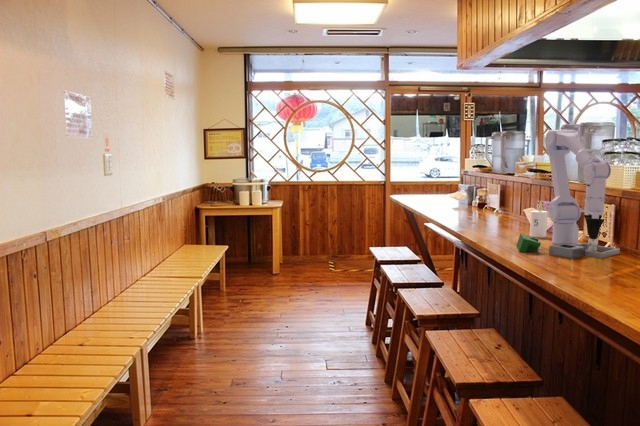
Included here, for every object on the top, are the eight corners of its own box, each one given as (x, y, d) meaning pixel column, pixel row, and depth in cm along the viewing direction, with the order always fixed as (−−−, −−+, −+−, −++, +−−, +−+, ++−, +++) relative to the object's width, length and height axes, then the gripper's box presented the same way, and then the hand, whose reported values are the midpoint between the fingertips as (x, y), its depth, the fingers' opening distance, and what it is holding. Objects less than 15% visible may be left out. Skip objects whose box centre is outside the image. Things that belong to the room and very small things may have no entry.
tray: (582, 249, 180) (582, 243, 179) (619, 256, 169) (619, 249, 169) (563, 254, 172) (563, 247, 172) (600, 260, 162) (601, 253, 162)
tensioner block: (561, 254, 172) (562, 243, 172) (584, 258, 166) (585, 246, 165) (548, 257, 168) (549, 245, 167) (571, 261, 161) (572, 249, 161)
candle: (527, 236, 208) (529, 200, 206) (532, 234, 212) (534, 199, 210) (543, 238, 203) (545, 201, 201) (548, 235, 208) (550, 200, 206)
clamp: (532, 266, 173) (541, 246, 168) (515, 261, 174) (523, 241, 169) (533, 248, 182) (541, 228, 177) (516, 243, 184) (524, 223, 179)
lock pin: (585, 251, 173) (589, 232, 172) (595, 253, 171) (599, 233, 170) (586, 253, 170) (589, 233, 169) (596, 254, 169) (599, 234, 168)
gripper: (580, 195, 176) (578, 232, 178) (582, 199, 163) (580, 239, 165) (603, 196, 173) (600, 234, 175) (607, 200, 160) (604, 241, 162)
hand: (592, 236), depth 170 cm, fingers open, 7 cm apart
